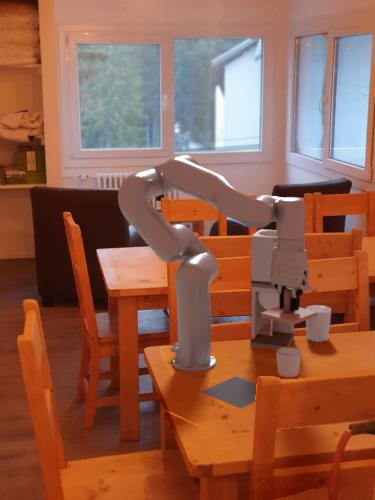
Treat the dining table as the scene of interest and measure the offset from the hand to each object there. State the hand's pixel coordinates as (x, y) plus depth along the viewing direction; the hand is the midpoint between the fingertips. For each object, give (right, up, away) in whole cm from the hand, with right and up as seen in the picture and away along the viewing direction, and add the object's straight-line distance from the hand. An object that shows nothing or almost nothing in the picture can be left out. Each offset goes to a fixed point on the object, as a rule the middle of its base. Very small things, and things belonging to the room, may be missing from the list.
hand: (289, 308), depth 193 cm
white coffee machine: (-1, -13, +29) cm, 32 cm away
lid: (0, -2, 0) cm, 2 cm away
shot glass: (0, -19, +5) cm, 20 cm away
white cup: (+14, -12, +32) cm, 37 cm away
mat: (-15, -22, -7) cm, 27 cm away
